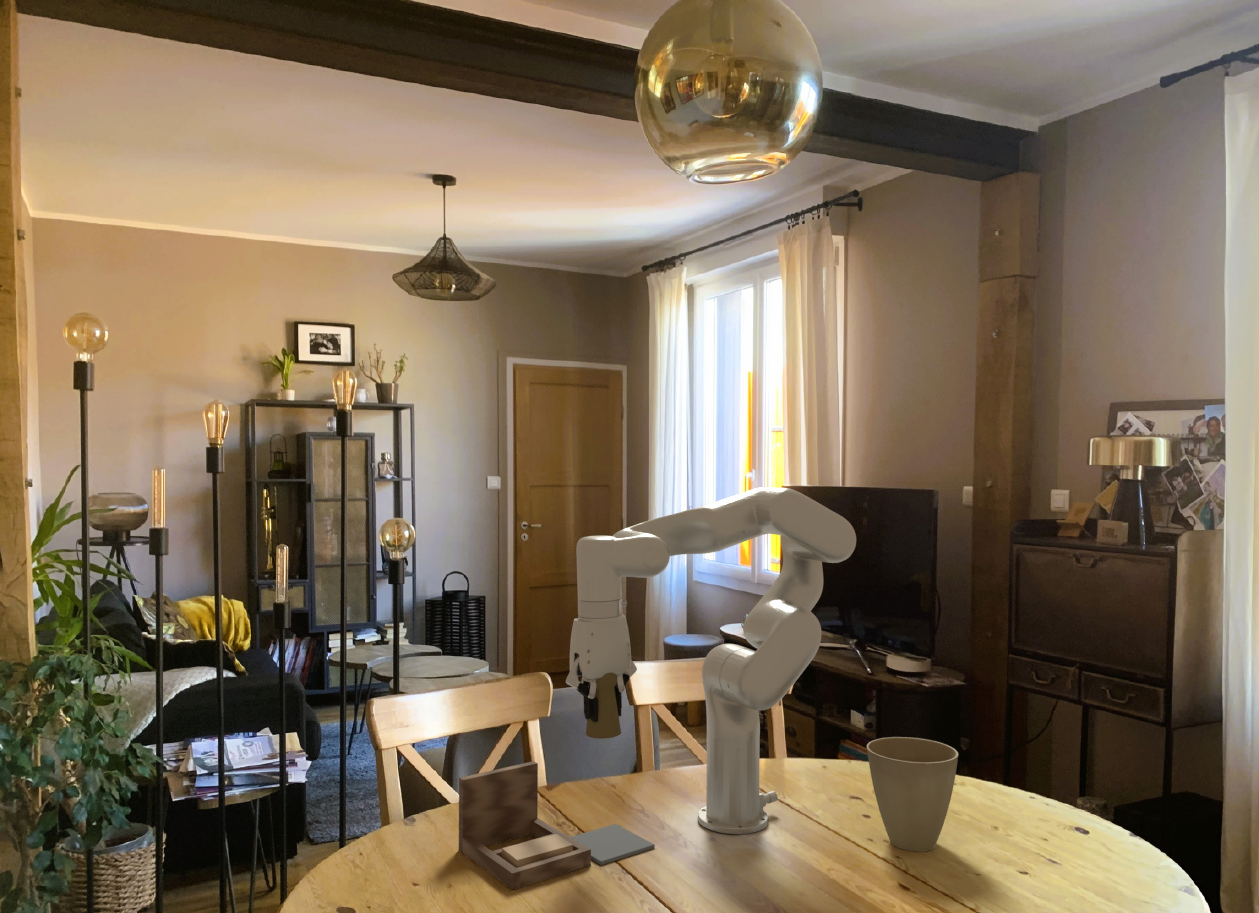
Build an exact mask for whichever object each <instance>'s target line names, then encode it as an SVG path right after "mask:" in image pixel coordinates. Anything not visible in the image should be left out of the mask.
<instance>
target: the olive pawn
mask: <svg viewBox="0 0 1259 913" xmlns="http://www.w3.org/2000/svg"><path fill="white" fill-rule="evenodd" d="M595 682H596V692H595V698H598V721H597V722H592V720H591V719H590V718H589V720H587V719H586V728H585V736H586V737H589V738H593V739H598V740H599V739H612V738H616V737H618V736H620V735H622V728H621V724H620V722H621V721H620V717H619V715H618V709H617V702H616V696H615V689H614V687H615V685H616V684H617V675H616V674H615V673H612V672H611V673H607V674H605V675H604V676H603V677H602V678H599V679H597V680H596V681H595ZM588 687H589V682H588Z"/></svg>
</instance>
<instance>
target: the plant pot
mask: <svg viewBox="0 0 1259 913" xmlns="http://www.w3.org/2000/svg"><path fill="white" fill-rule="evenodd" d="M866 751H867V758H868V765H869V766H868V767H869V772H870V777H871V780H872V781H871V782H872V786H873V791H874V796H875V799H876V802H877V806H878V810H879V814H880V816H881V819H882V822H883V823H882V824H883V826H884V828H885V832H886V834H887V836H888V839H889V842H890V843H891V845H893V846H894V847H895V848H898V849H901V850H905V851H909V852H910V851H911V852H921V853H922V852H928V851H931V850H933V849H934V848H935V847H936V844H937V842H938V840H939V837H940V836H941V832H942V829H943V827H944V824H945V820H946V818H947V815H948V811H949V807H950V803H951V799H952V795H953V792H954V786H955V780H956V774H957V767H958V761H959V759H958V758H959V752H958V751H957V750H956V748H954V747H952V746H950V745H948V744H947V743H946V744H945V743H944V742H940V741H936V740H931V739H926V738H919V737H907V736H905V737H903V736H891V737H889V736H888V737H881V738H877V739H874V740H871V741H869V742H868V743H867V744H866Z"/></svg>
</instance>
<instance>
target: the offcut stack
mask: <svg viewBox="0 0 1259 913" xmlns="http://www.w3.org/2000/svg"><path fill="white" fill-rule="evenodd" d="M534 839H535V840H533V839H531V840H532V841H529V840H527V841H528V842H526V841H523V842H524V843H522V842H519V843H520V844H519V843H516V845H515V844H512V845H513V846H512V845H508V846H509V847H508V846H505V847H502V858H503V859H504V860H505V861H507V862H508V863H510V864H511V865H513V866H514V867H516V868H519V867H522V866H525V865H529V864H532V863H535V862H538V861H542V860H545V859H548V858H552V857H555V856H558V855H562V854H565V853H568V852H572V851H573V844H571V843H570V842H568V841H566V840H565V839H563V838H562V837H560V836H559V835H557V834H554V835H551V836H547V837H543V838H539V839H536V838H534Z"/></svg>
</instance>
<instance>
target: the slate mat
mask: <svg viewBox="0 0 1259 913" xmlns="http://www.w3.org/2000/svg"><path fill="white" fill-rule="evenodd" d="M570 837H571V838H572V839H574V840H576V841H577V842H579V843H581V844H583V845H584V846H586V847H588V848H589V849H591V861H594V862H596V864H598V865H599V866H600V865H601V866H603V865H605V864H609V863H613V862H615V861H619V860H621V859H625V858H627V857H631V856H635V855H638V854H640V853H644V852H647V851H650V850H653V849H655V846H656V845H655V844H654V843H652V842H651V841H649V840H648V839H645V838H643V837H642V836H639V835H637V834H636V833H634V832H632V831H630V830H629V829H626V828H624V827H622V826H621V825H619V824H617V823H614V824H611V825H606V826H603V827H600V828H596V829H594V830H589V831H587V832H583V833H578V834H576V835H573V836H570Z"/></svg>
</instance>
